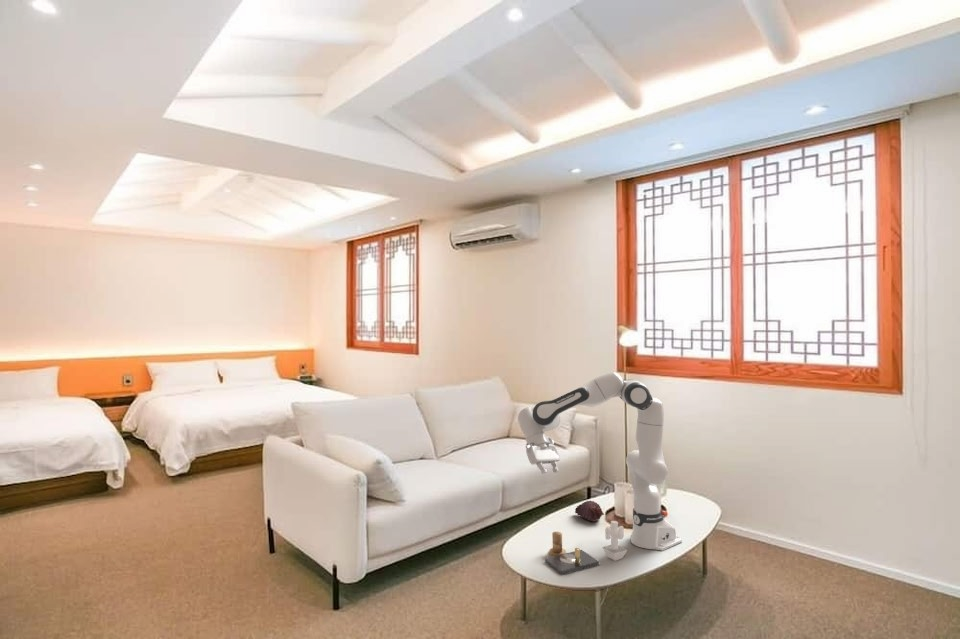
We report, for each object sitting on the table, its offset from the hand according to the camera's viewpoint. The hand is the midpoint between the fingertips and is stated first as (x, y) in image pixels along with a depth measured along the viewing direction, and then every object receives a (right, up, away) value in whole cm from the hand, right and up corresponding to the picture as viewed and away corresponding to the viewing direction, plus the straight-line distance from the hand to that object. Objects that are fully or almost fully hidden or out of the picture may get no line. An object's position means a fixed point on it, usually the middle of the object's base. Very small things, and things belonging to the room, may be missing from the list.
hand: (550, 472), depth 228 cm
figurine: (+26, -33, -8) cm, 43 cm away
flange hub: (+2, -33, -3) cm, 34 cm away
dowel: (+9, -32, -16) cm, 37 cm away
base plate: (+7, -33, -13) cm, 36 cm away
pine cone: (+24, -33, +33) cm, 53 cm away
